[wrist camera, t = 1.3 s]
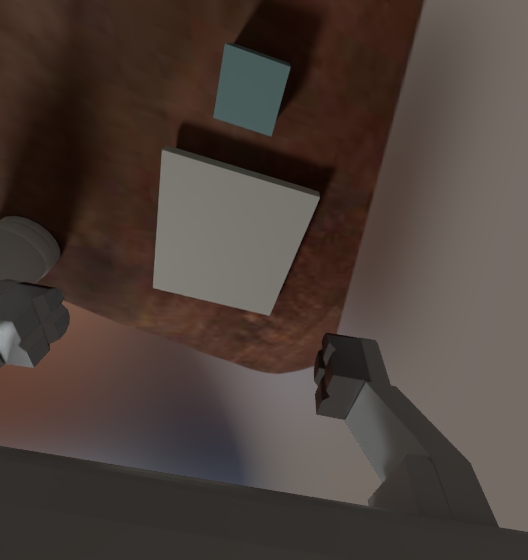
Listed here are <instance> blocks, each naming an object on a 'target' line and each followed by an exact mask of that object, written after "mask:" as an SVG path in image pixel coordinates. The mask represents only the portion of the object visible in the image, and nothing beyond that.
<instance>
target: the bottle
mask: <svg viewBox="0 0 528 560" xmlns="http://www.w3.org/2000/svg"><path fill="white" fill-rule="evenodd" d="M59 258H60V248H59V246H58V243H57V241H56V240H55V238H54V237H53V236H52V235H51V234H50V232H49V231H47V230H46V229H45V228H44V227H42V226H41V225H40V224H38V223H36V222H34V221H32V220H30V219H28V218H23V217H19V216H7V217H4V218H3V219H1V220H0V280H5V279H11V280H16V281H21V282H28V283H33V284H36V283H37V282H38V281H39V280H40V279H41V278H42V277H44V276H45V275H46V274H47V273H48V272H49V271H50V270H51V269H52V267H53V266H54V265H55V264H56V263H57V261H58V260H59Z"/></svg>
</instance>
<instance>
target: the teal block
mask: <svg viewBox="0 0 528 560" xmlns="http://www.w3.org/2000/svg"><path fill="white" fill-rule="evenodd" d="M290 68H291V66H290V63H287V62H285V61H282V60H279V59H276V58H274V57H271V56H268V55H265V54H262V53H260V52H257V51H254V50H251V49H249V48H246V47H243V46H240V45H237V44H235V43H227V44H225V48H224V54H223V61H222V67H221V73H220V79H219V86H218V92H217V98H216V104H215V111H214V117H213V118H216V119H219V120H222V121H225V122H228V123H231V124H234V125H237V126H241V127H244V128H247V129H250V130H253V131H256V132H259V133H262V134H265V135H268V136H272V132H273V129H274V125H275V121H276V118H277V114H278V111H279V107H280V104H281V100H282V96H283V93H284V89H285V86H286V82H287V78H288V75H289V71H290Z"/></svg>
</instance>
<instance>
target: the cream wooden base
mask: <svg viewBox="0 0 528 560" xmlns="http://www.w3.org/2000/svg"><path fill="white" fill-rule="evenodd" d="M319 199H320V195H319V192H318V191H315V190H312V189H309V188H306V187H303V186H300V185H296V184H293V183H290V182H286V181H283V180H280V179H276V178H273V177H270V176H267V175H263V174H260V173H257V172H253V171H250V170H247V169H244V168H240V167H237V166H234V165H230V164H227V163H224V162H221V161H217V160H214V159H211V158H207V157H204V156H201V155H198V154H194V153H191V152H188V151H184V150H181V149H178V148H174V147H170V146H166V147H165V148H164V149H162V159H161V174H160V189H159V204H158V219H157V234H156V249H155V264H154V279H153V288H156V289H160V290H164V291H168V292H172V293H177V294H181V295H185V296H189V297H193V298H198V299H202V300H206V301H210V302H214V303H219V304H223V305H227V306H231V307H235V308H240V309H244V310H248V311H252V312H256V313H261V314H265V315H269V316H270V313H271V311H272V309H273V306H274V304H275V302H276V299H277V297H278V295H279V292H280V290H281V288H282V285H283V283H284V281H285V278H286V276H287V274H288V271H289V269H290V267H291V264H292V262H293V260H294V257H295V255H296V253H297V250H298V248H299V246H300V243H301V241H302V239H303V236H304V234H305V232H306V229H307V227H308V225H309V222H310V220H311V218H312V215H313V213H314V211H315V208H316V206H317V204H318V201H319Z"/></svg>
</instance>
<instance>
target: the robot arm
mask: <svg viewBox="0 0 528 560" xmlns="http://www.w3.org/2000/svg"><path fill="white" fill-rule="evenodd" d="M63 300H64V296H63V294H62V291H61V290H60V289H57V288H54V287H49V286H44V285H38V284H33V283H28V282H21V281H16V280H11V279H5V280H0V367H2V366H4V364H10V365H17V366H25V367H32V368H34V367H35V366H36V365H37V364H38V363H39V361H40V360H41V359H42V358H43V357H44V356H45V355H46V354H47V353H48V352H49V350H50V343H52V342H55V341H57V340H59V339H60V338H61V337H62V336H63V335H64V333H65V332H66V330H67V328H68V325H69V319H70V318H69V317H70V316H69V312H68V310H67V309H66V308H65V307H64V306H63V305H62V304H61V303H62V301H63ZM314 381H315V383H316V384H317V385H318V388H317V390H316V393H315V400H316V414H317V415H322V416H328V417H333V418H338V419H343V420H345V423H346V424H347V426H348V427H349V429H350V431H351V432H352V434H353V436H354V437H355V439H356V440H357V442H358V444H359V445H360V447H361V448H362V450H363V452H364V454H365V455H366V457H367V458H368V460H369V461H370V463H371V465H372V466H373V468H374V470H375V471H376V473H377V474H378V476H379V478H380V479H381V481H382V484H381V485H380V487H379V488H378V489H377V490H376V492H374V494H373V495H372V496H371V497H370V498H369V499H368V504H369V506H364V505H358V504H352V503H346V502H340V501H334V500H328V499H321V498H315V497H309V496H303V495H297V494H291V493H285V492H278V491H272V490H267V489H260V488H254V487H248V486H242V485H236V484H229V483H224V482H218V481H211V480H205V479H199V478H193V477H186V476H181V475H175V474H169V473H163V472H156V471H150V470H144V469H138V468H132V467H125V466H120V465H113V464H107V463H101V462H95V461H89V460H83V459H77V458H71V457H65V456H59V455H52V454H46V453H39V452H34V451H28V450H22V449H15V448H10V447H3V446H0V560H528V532H524V531H517V530H512V529H505V528H500V527H499V526H498V524H497V522H496V519H495V517H494V515H493V513H492V510H491V508H490V506H489V504H488V502H487V499H486V497H485V495H484V492H483V491H482V488H481V486H480V484H479V481H478V479H477V477H476V475H475V472H474V470H473V468H472V466H471V463H470V462H469V461H468V460H467V459H466V458H465V457H464V456H463V455H462V454H461V453H460V452H459V451H458V450H457V449H456V448H455V447H454V446H453V445H452V444H451V443H450V442H449V441H448V439H447V438H446V437H444V435H443V434H442V433H441V432H440V431H439V430H438V429H437V428H436V427H435V426H434V425H433V424H432V423H431V422H430V421H429V420H428V419H427V418H426V417H425V416H424V415H423V414H422V413H421V412H420V411H419V410H418V409H417V408H416V407H415V406H414V405H413V404H412V403H411V401H410V400H409V399H408V398H407V397H406V396H404V394H403V393H402V392H401V391H400V390H399V389H398V388H397V387H395V386H391V384H390V381H389V378H388V375H387V372H386V369H385V365H384V362H383V359H382V356H381V353H380V349H379V346H378V343H377V342H376V341H375V340H371V339H364V338H357V337H350V336H343V335H338V334H331V333H325V335H324V337H323V339H322V349H321V350H320V351H318V353H317V356H316V360H315V366H314Z"/></svg>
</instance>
